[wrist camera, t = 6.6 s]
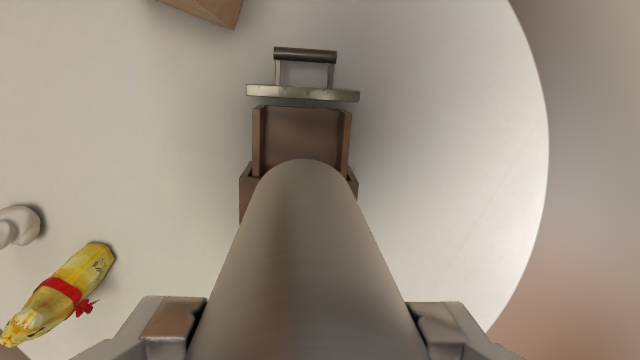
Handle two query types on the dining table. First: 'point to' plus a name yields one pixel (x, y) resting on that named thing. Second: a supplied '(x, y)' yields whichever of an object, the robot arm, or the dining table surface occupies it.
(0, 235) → the beige swirled lump
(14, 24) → the dining table surface
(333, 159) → the drawer
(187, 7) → the stand
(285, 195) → the grey metal cylinder
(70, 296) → the chocolate bunny
